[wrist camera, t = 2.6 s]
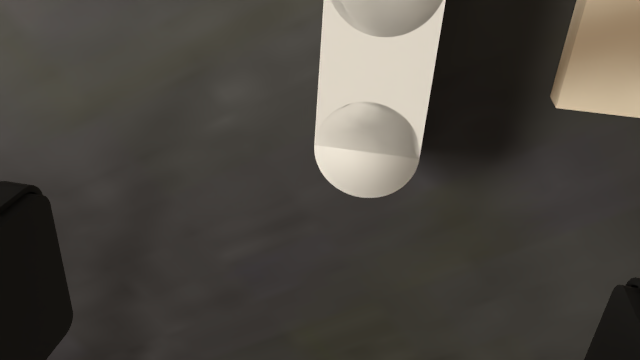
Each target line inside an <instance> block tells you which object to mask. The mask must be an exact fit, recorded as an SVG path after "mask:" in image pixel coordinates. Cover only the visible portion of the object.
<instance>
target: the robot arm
mask: <svg viewBox="0 0 640 360" xmlns="http://www.w3.org/2000/svg"><path fill="white" fill-rule="evenodd" d="M72 319H73V310H72V306H71V301H70V296H69V291H68V287H67V282H66V277H65V272H64V267H63V263H62V258H61V253H60V248H59V243H58V239H57V234H56V229H55V224H54V219H53V215H52V210H51V205H50V202H49V200H48V198H47V197H46V196H43V195H42V192H41V191H40V189H39V188H38V187H36V186H34V185H27V184H20V183H14V182H7V181H0V360H46V359H47V358H48V356H49V355H50V354H51V353H52V351H53V350H54V349H55V348H56V346H57V345H58V344H59V342H60V341H61V340H62V339H63V337H64V336H65V335H66V333H67V332H68V330H69V328H70V326H71V323H72ZM584 360H640V278H631V279H630V280H629V281H628V282H627V284H626V286H624V285H617V286H616V287H615V288H614V290H613V292H612V294H611V296H610V299H609V301H608V303H607V306H606V308H605V311H604V313H603V315H602V318H601V320H600V323H599V325H598V328H597V330H596V332H595V335H594V337H593V340H592V342H591V344H590V347H589V349H588V352H587V354H586V357H585V359H584Z"/></svg>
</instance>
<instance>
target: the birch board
mask: <svg viewBox="0 0 640 360" xmlns="http://www.w3.org/2000/svg"><path fill="white" fill-rule="evenodd" d="M550 97H551V99H552V101H553V103H554V105H555V107H556V108H561V109H569V110H577V111H586V112H594V113H603V114H611V115H620V116H628V117H637V118H640V0H577V1H576V4H575V8H574V11H573V15H572V19H571V22H570V26H569V30H568V33H567V37H566V41H565V44H564V48H563V51H562V55H561V59H560V62H559V66H558V70H557V73H556V77H555V80H554V84H553V88H552V91H551V95H550Z"/></svg>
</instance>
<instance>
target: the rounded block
mask: <svg viewBox="0 0 640 360" xmlns="http://www.w3.org/2000/svg"><path fill="white" fill-rule="evenodd" d="M445 2H446V0H324V5H323V20H322V36H321V51H320V67H319V82H318V97H317V113H316V128H315V144H314V152H315V158H316V161H317V164H318V166H319V169H320V170H321V172H322V174H323V175H324V176H325V178H326V179H327V180H328V181H329V182H330V183H331V184H332V185H334V186H335V187H336V188H338V189H339V190H341V191H343V192H345V193H347V194H350V195H353V196H357V197H363V198H375V197H382V196H385V195H388V194H391V193H393V192H395V191H397V190H399V189H400V188H401V187H403V186H404V185H405V184H406V183H407V182H408V181H409V180H410V179H411V177H412V176H413V174H414V173H415V171H416V169H417V166H418V163H419V158H420V152H421V146H422V140H423V134H424V128H425V122H426V116H427V110H428V104H429V98H430V92H431V86H432V80H433V74H434V68H435V62H436V56H437V50H438V44H439V38H440V32H441V26H442V20H443V14H444V8H445Z"/></svg>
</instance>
